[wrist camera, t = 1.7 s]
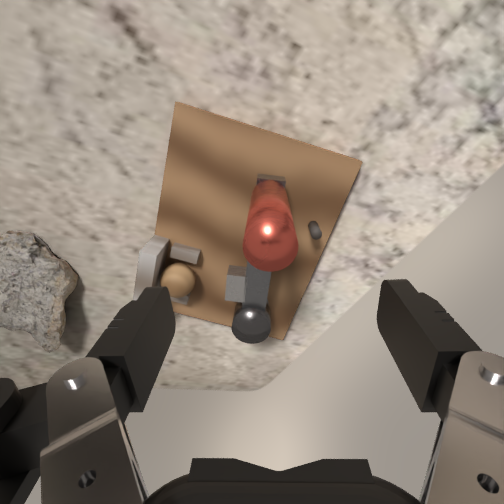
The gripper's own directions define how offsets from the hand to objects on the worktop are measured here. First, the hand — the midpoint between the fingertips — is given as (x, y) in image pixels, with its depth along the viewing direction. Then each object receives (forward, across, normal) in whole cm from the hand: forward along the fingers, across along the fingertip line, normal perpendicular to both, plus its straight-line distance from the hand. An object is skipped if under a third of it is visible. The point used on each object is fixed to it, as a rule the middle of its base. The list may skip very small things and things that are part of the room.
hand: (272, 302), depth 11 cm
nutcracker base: (+20, +3, +6) cm, 21 cm away
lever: (+17, +2, +7) cm, 18 cm away
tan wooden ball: (+19, +10, +9) cm, 23 cm away
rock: (+20, +29, +11) cm, 37 cm away
